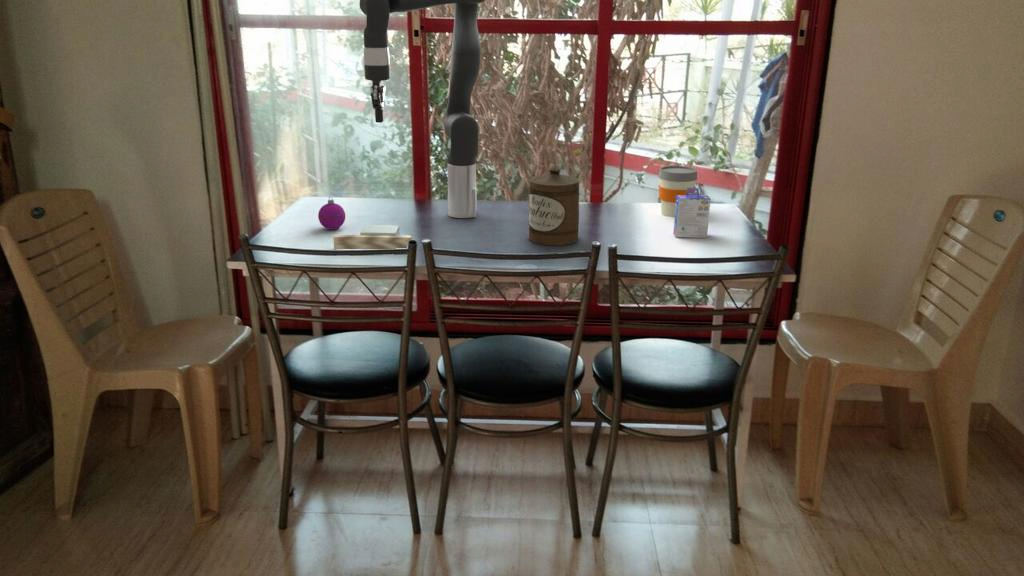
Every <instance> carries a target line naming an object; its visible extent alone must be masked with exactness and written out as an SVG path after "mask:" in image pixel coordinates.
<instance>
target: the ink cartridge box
mask: <svg viewBox="0 0 1024 576" xmlns="http://www.w3.org/2000/svg"><path fill="white" fill-rule="evenodd" d="M699 189H700V188H699V187H696V188H687V195H676V205H675V217H674V222H673V223H674V224H673V235H674V237H675V238H693V239H694V238H699V239H701V238H703V239H704V238H705V239H706V238H708V229H709V220H710V219H709V218H710V217H709V216H710V207H711V197H709V196H708V195H707V194H705V195H704V194H700V190H699ZM691 190H695V193H689V191H691Z"/></svg>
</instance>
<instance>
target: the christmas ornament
mask: <svg viewBox="0 0 1024 576" xmlns="http://www.w3.org/2000/svg"><path fill="white" fill-rule="evenodd" d="M317 217H318V220H319V224H320V225H321V226H322V227H323V228H325V229H328V230H336V229H339V228H340V227H342V226H343V224H345V221H346V213H345V210H344V208H343V207H342V206H341V205H340V204H338V203H335V200H334V199H333V197H329V199H328V200H327V203H326V204H323V205H322V206H321V207H320V209H319V210H318V214H317Z"/></svg>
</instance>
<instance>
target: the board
mask: <svg viewBox="0 0 1024 576" xmlns="http://www.w3.org/2000/svg"><path fill="white" fill-rule="evenodd" d="M332 239H333V250H334V249H396V248H407V246H408V242H409V241H410V240H412V241H413V236H412V235H404V234H403V235H402V234H400V235H360V234H334V235H333V238H332Z"/></svg>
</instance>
